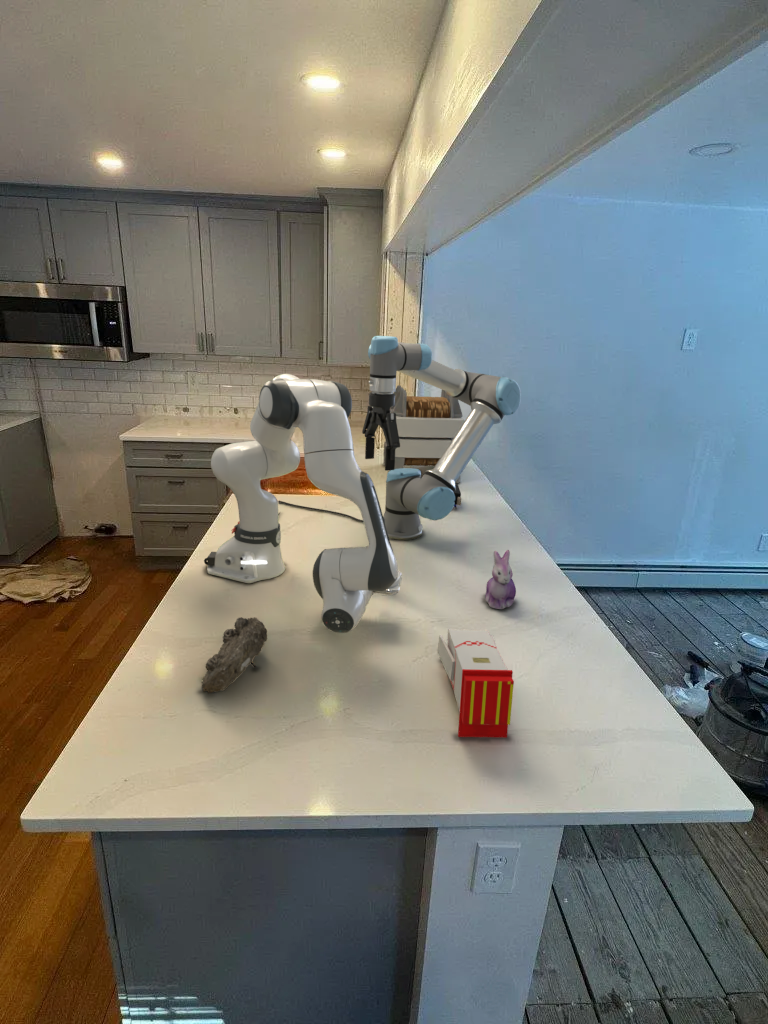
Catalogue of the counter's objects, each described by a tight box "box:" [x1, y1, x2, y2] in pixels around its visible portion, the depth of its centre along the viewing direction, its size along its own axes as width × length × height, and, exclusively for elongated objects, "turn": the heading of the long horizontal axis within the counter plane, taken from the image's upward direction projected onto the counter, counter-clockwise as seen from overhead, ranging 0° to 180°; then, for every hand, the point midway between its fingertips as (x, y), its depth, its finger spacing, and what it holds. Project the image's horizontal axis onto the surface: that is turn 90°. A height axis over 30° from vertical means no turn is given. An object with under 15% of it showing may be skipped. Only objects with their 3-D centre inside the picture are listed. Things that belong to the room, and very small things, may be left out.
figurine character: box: [453, 483, 462, 510], centre depth 230 cm, size 7×8×15 cm
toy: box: [437, 628, 515, 738], centre depth 117 cm, size 12×13×30 cm
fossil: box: [201, 616, 268, 694], centre depth 122 cm, size 22×10×15 cm
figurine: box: [484, 549, 517, 610], centre depth 153 cm, size 9×10×15 cm
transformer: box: [383, 384, 466, 484], centre depth 268 cm, size 34×33×41 cm
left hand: (367, 564), depth 149 cm, fingers open, 8 cm apart
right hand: (379, 464), depth 170 cm, fingers open, 13 cm apart
